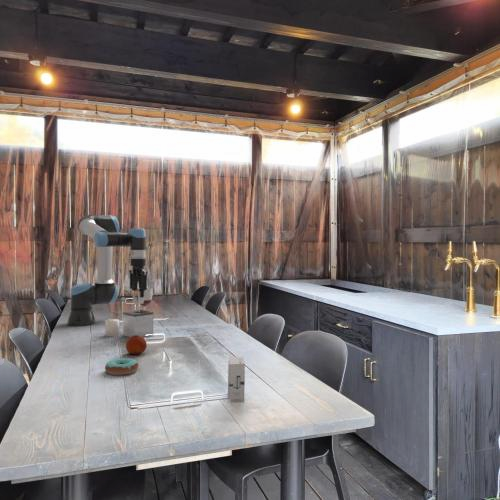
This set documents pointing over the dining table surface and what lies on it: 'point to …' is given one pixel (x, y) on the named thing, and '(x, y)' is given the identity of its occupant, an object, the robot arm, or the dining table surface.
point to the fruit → (136, 345)
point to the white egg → (111, 327)
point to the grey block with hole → (137, 323)
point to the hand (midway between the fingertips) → (138, 303)
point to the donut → (121, 366)
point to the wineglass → (147, 297)
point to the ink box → (236, 379)
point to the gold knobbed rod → (137, 300)
